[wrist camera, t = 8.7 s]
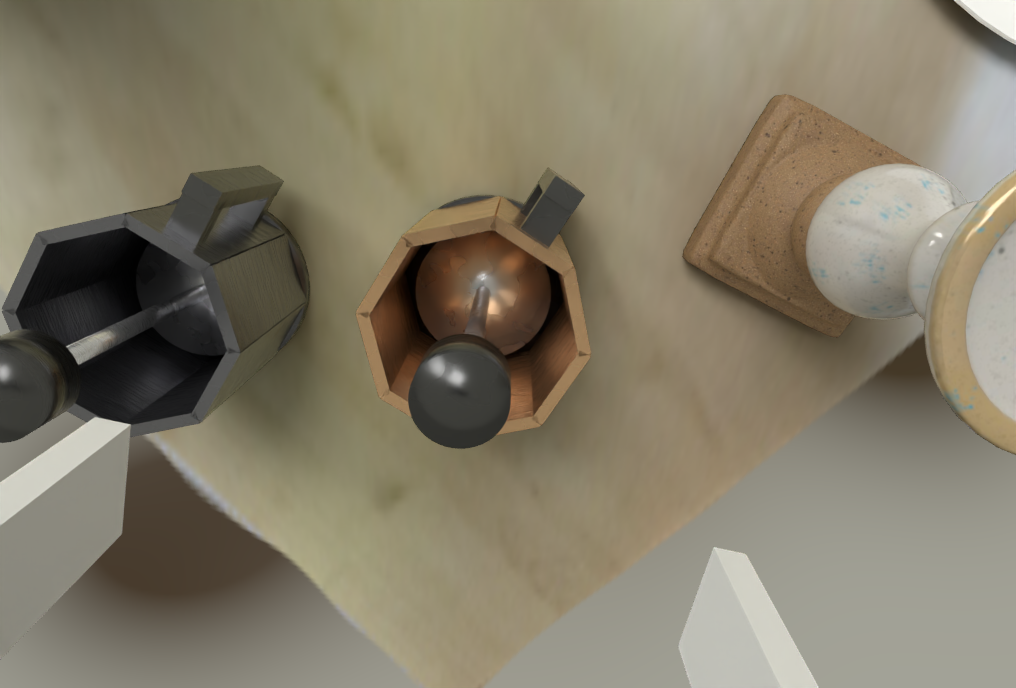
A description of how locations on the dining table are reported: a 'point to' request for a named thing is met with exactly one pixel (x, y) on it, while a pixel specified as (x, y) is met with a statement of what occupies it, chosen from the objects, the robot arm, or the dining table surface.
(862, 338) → the dining table surface
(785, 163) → the candle holder
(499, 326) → the copper plunger
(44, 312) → the steel carafe
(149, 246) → the steel plunger
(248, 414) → the dining table surface
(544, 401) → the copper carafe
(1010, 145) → the dining table surface
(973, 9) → the plate
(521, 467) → the dining table surface
